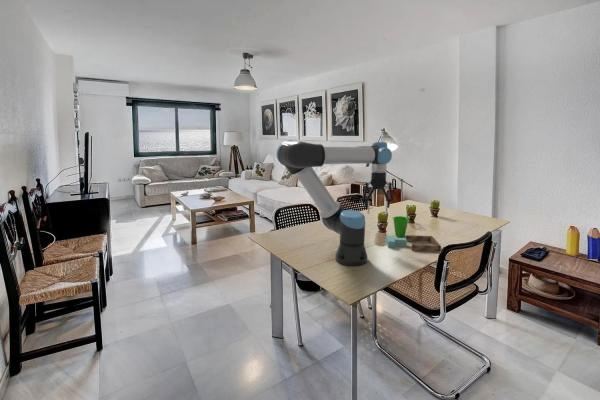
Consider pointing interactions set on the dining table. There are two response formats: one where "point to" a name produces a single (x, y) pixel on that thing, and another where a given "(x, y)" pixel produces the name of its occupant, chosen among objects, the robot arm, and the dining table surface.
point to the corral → (416, 247)
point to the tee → (395, 241)
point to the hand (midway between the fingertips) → (377, 213)
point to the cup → (400, 225)
